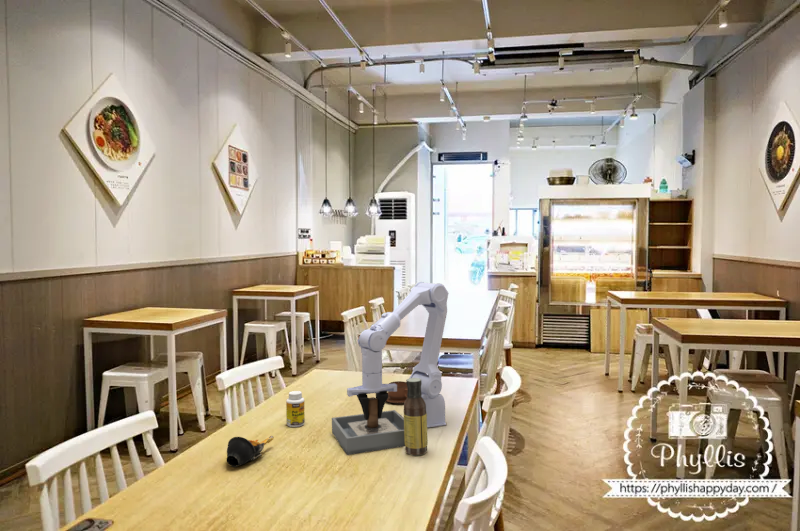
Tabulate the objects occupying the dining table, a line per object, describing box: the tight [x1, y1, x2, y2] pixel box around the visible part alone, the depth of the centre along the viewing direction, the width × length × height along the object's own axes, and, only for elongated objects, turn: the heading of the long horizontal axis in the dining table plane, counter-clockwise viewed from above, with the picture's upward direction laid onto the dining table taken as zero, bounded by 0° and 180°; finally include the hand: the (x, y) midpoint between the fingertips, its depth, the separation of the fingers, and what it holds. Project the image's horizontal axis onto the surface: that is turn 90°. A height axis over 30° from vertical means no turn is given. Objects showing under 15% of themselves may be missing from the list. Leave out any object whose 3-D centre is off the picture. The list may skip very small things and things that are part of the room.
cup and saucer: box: [386, 380, 408, 404], centre depth 191 cm, size 12×12×6 cm
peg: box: [367, 396, 378, 428], centre depth 154 cm, size 3×3×8 cm
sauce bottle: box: [403, 377, 429, 457], centre depth 144 cm, size 6×6×20 cm
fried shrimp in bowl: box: [226, 435, 274, 468], centre depth 141 cm, size 8×10×16 cm
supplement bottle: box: [285, 390, 306, 428], centre depth 166 cm, size 6×6×10 cm
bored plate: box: [347, 418, 398, 437], centre depth 154 cm, size 12×12×2 cm
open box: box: [331, 409, 405, 456], centre depth 154 cm, size 20×18×4 cm
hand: (372, 418), depth 154 cm, fingers closed on peg, 3 cm apart
